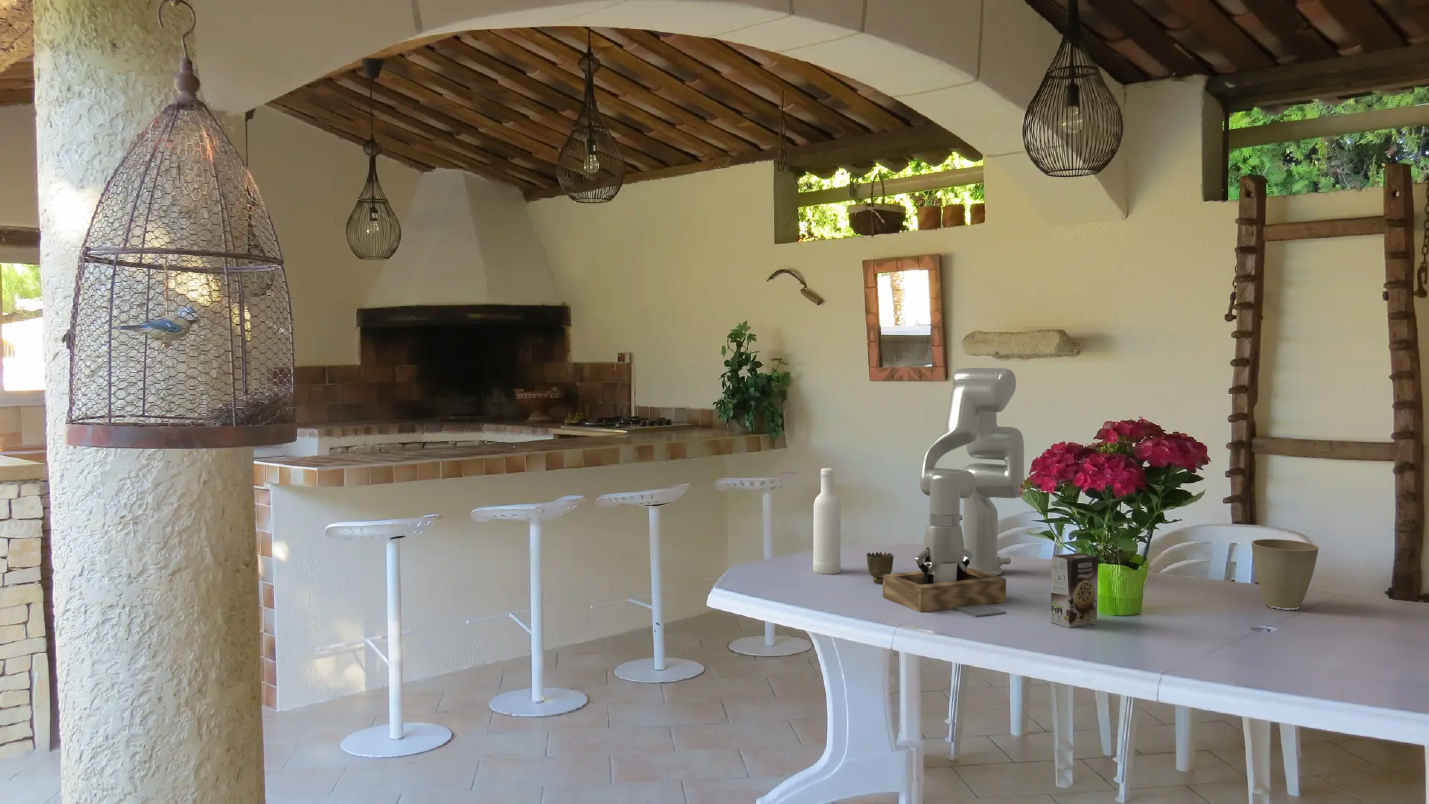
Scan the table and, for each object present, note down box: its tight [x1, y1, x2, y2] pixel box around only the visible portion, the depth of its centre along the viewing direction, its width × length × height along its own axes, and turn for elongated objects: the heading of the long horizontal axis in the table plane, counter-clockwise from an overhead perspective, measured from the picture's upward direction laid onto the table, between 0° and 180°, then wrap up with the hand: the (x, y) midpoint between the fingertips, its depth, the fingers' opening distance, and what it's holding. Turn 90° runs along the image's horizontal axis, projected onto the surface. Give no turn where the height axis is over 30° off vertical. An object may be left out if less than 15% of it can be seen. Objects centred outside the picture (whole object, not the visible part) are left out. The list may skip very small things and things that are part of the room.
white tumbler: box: [931, 563, 957, 583], centre depth 279 cm, size 7×7×10 cm
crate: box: [882, 567, 1007, 613], centre depth 280 cm, size 26×17×6 cm, turn 114°
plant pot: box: [1251, 538, 1320, 608], centre depth 271 cm, size 15×15×16 cm
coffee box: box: [1049, 552, 1099, 629], centre depth 256 cm, size 9×6×16 cm
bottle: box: [812, 467, 842, 575], centre depth 314 cm, size 8×8×30 cm
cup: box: [866, 551, 895, 585], centre depth 300 cm, size 8×7×8 cm
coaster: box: [953, 604, 1007, 618], centre depth 268 cm, size 9×9×1 cm
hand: (943, 587), depth 279 cm, fingers open, 8 cm apart
